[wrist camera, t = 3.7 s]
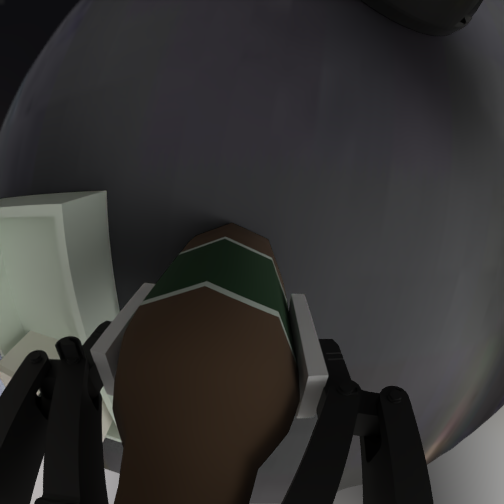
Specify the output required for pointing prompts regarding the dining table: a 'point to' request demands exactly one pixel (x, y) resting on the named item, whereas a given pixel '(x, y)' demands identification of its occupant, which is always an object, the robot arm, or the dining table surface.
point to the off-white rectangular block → (41, 342)
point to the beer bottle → (206, 375)
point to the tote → (56, 270)
